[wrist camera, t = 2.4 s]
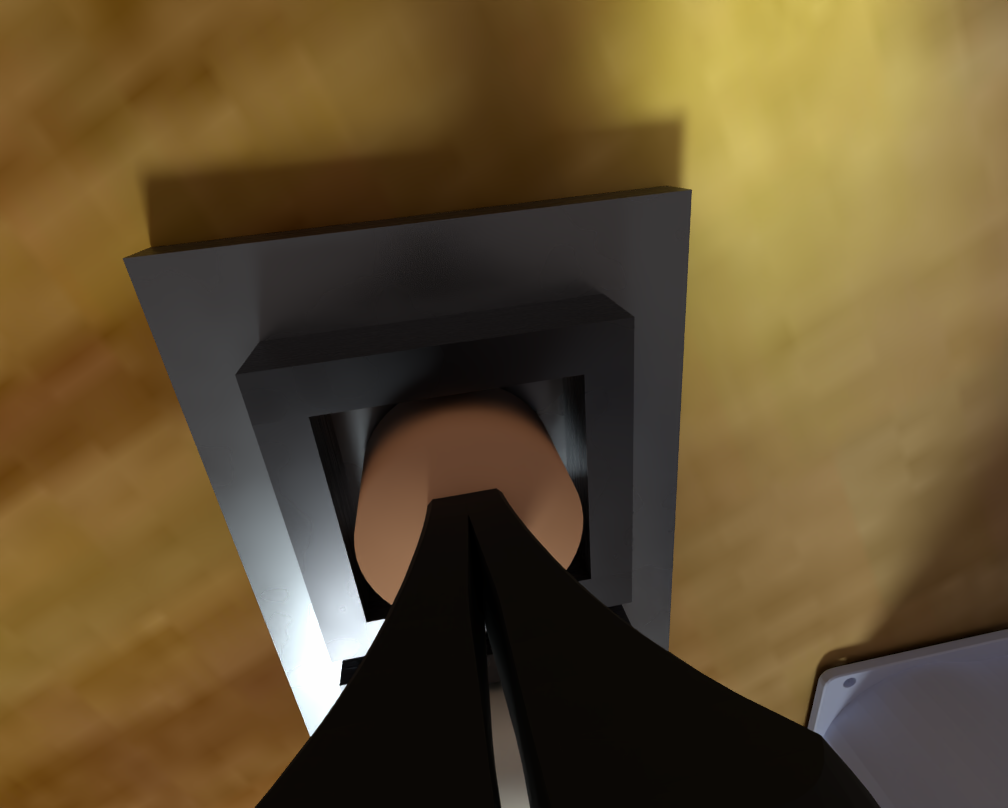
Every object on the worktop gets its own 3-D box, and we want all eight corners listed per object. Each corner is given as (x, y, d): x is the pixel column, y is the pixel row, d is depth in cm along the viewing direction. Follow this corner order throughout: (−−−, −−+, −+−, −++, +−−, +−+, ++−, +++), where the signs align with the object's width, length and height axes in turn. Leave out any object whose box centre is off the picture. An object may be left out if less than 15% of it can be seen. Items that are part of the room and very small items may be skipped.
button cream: (573, 659, 15) (604, 751, 12) (579, 760, 17) (606, 856, 14) (408, 694, 14) (409, 796, 12) (433, 794, 16) (438, 897, 14)
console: (666, 185, 12) (739, 197, 10) (645, 845, 24) (675, 932, 21) (149, 247, 11) (69, 279, 9) (392, 908, 23) (391, 1008, 20)
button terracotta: (547, 367, 12) (579, 419, 10) (557, 527, 14) (586, 600, 12) (343, 398, 12) (329, 459, 9) (383, 559, 14) (378, 641, 11)
